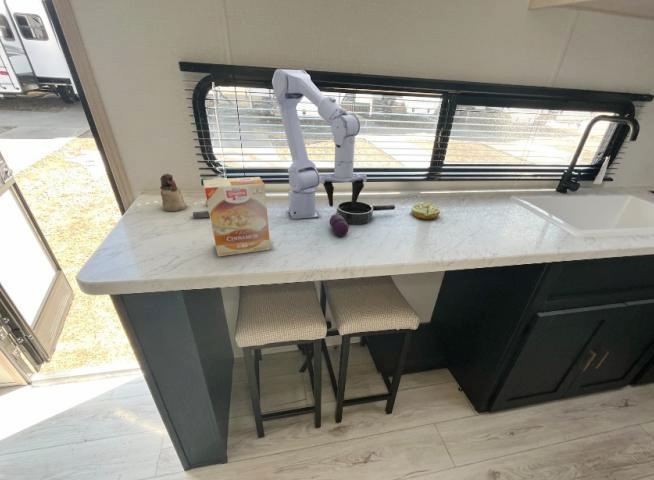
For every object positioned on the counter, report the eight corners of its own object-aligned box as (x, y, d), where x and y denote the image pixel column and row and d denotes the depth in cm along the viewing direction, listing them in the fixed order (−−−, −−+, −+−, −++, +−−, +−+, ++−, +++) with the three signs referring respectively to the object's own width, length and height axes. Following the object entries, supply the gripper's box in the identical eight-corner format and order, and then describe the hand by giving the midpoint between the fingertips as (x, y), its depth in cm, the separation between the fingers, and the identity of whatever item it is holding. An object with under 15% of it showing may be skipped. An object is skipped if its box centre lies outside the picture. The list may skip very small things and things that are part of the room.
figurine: (178, 203, 124) (170, 169, 117) (189, 207, 121) (182, 173, 114) (160, 207, 119) (150, 173, 112) (171, 213, 116) (161, 178, 109)
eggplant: (350, 237, 108) (351, 223, 106) (335, 239, 107) (335, 224, 104) (340, 222, 118) (340, 209, 115) (326, 223, 116) (326, 210, 114)
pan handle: (371, 211, 122) (371, 206, 121) (369, 209, 123) (370, 205, 122) (395, 210, 125) (396, 205, 124) (393, 208, 126) (394, 203, 125)
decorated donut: (405, 214, 128) (406, 204, 126) (421, 208, 135) (423, 199, 132) (427, 222, 123) (429, 213, 120) (443, 216, 129) (445, 206, 127)
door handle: (190, 218, 107) (241, 212, 111) (195, 197, 123) (240, 193, 126) (193, 227, 109) (243, 222, 113) (197, 206, 125) (242, 201, 128)
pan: (342, 226, 116) (342, 215, 113) (332, 212, 126) (333, 201, 123) (376, 223, 119) (378, 212, 117) (365, 210, 129) (365, 200, 127)
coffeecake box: (217, 257, 93) (203, 187, 82) (215, 246, 98) (201, 178, 87) (271, 250, 99) (265, 183, 87) (266, 239, 104) (259, 175, 92)
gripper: (323, 164, 94) (323, 210, 102) (371, 163, 98) (367, 208, 106) (318, 158, 100) (318, 202, 108) (363, 157, 104) (360, 200, 112)
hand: (342, 204), depth 107 cm, fingers open, 7 cm apart
